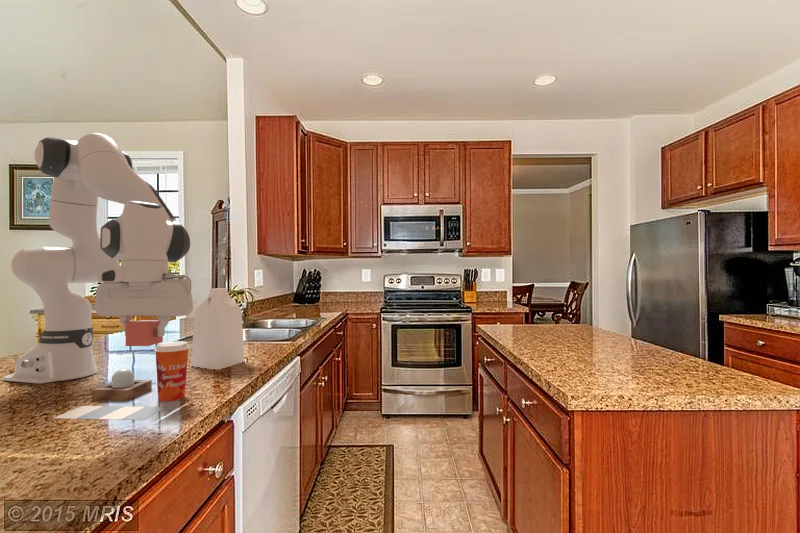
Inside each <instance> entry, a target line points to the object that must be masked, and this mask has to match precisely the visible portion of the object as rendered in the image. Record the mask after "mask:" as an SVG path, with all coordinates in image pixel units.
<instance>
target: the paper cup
mask: <svg viewBox="0 0 800 533" xmlns="http://www.w3.org/2000/svg"><path fill="white" fill-rule="evenodd" d="M189 349H191V347H190V346H189V343H188V342H186V341H180V340H179V341H165V342H161V343H158V344H156V347H155V348H154V350H153V351H154V352H155V366H156V381H157V383H156V384H157V398H158V401H160V402H174V401H178V400H181V399H184V398H185V395H186V394H185V393H186V385H187V384H186V383H187V382H186V381H187V371H188V370H187V369H188V354H189Z"/></svg>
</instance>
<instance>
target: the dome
mask: <svg viewBox="0 0 800 533" xmlns="http://www.w3.org/2000/svg"><path fill="white" fill-rule="evenodd" d="M134 380H135V374H134V372H133V371H132V370H131V369H129V368H121V369H118V370H116V371H115V372H114V373H113V375H112V376H111V382H112V388H127V387H130V386H132V385H134Z"/></svg>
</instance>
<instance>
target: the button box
mask: <svg viewBox="0 0 800 533" xmlns="http://www.w3.org/2000/svg"><path fill="white" fill-rule="evenodd" d="M152 386H153V384H152V379H151V380H150V379H148V380H147V379H134V385H132V386H130V387H127V388H112V381H111V382H109V383H106V384H104V385H101V386H98V387H96V388H93V389H91V400H92V401H99V400H100V401H129V400H132V399H133V398H136V397H138V396H140V395H143V394H145V393H146V392H149V391H151V390H153V388H152Z"/></svg>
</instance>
